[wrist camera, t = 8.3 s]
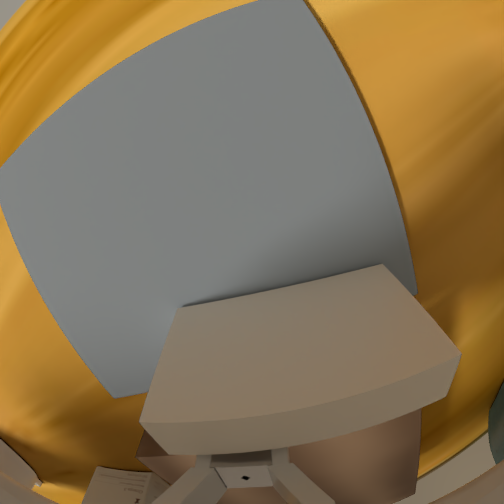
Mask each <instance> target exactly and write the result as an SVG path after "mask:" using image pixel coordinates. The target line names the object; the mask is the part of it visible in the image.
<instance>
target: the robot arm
mask: <svg viewBox="0 0 504 504" xmlns="http://www.w3.org/2000/svg"><path fill="white" fill-rule="evenodd" d="M34 485H37V486H39V487H40V486H41V485H42V482H41V481H40V480H39V479H38V478H37V475H36V474H35V472H34V471H33V470H32V469H31V468H30V467H29V466H28V465H27V464H26V463H25V462H24V461H23V460H22V459H21V458H20V457H19V456H18V455H17V454H16V453H15V452H14V451H13V450H12V449H11V448H10V447H8V446H7V445H6V444H5V443H4V442H3V441H2V440H1V439H0V504H58V503H56V502H54V501H52V500H50V499H48V498H46V497H44V496H42V495H40V494H38V493H36V492H34V491H33V490H32V488H33V487H34ZM268 486H273V487H274V488H275V489H276V491H277V492H278V493H279V494H280V495H281V496H282V498H283V499H284V500H285V501H286V502H287V503H288V504H335V501H334V500H333V499H332V498H331V497H329V496H328V495H327V494H326V493H325V492H324V491H323V490H321V489H320V488H319V487H318V486H317V485H316V484H315V483H314V482H313V481H311V480H310V479H309V478H308V477H307V476H306V475H305V474H304V473H303V472H302V471H301V470H300V469H299V468H298V467H297V466H296V465H295V464H294V463H290V458H289V450H288V447H284V448H277V449H270V450H263V451H254V452H244V453H232V454H213V455H197V456H196V462H195V467H191V468H190V469H189V470H188V471H186V472H185V473H184V474H183V475H182V476H181V477H180V478H179V479H178V480H177V481H176V482H175V483H174V484H173V485H172V486H170V487H169V488H168V489H167V490H166V491H165V492H164V493H163V494H162V495H160V496H159V497H158V498H157V499H156V500H155V501H153V502H152V503H151V504H216V503H217V502H218V501H219V500H220V498H221V497H222V496H223V494H224V493H225V492H226V491H227V488H246V487H268ZM429 504H504V460H502V461H501V462H499V463H498V464H497V465H495V466H494V467H492V468H491V469H489V470H488V471H487V472H485V473H483V474H482V475H480V476H479V477H477V478H475V479H474V480H472V481H471V482H469V483H467V484H465V485H464V486H462V487H460V488H458V489H457V490H455V491H453V492H451V493H449V494H447V495H445V496H443V497H441V498H439V499H437V500H435V501H433V502H431V503H429Z"/></svg>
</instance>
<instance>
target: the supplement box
mask: <svg viewBox="0 0 504 504" xmlns="http://www.w3.org/2000/svg"><path fill="white" fill-rule="evenodd" d="M169 487H170V485H169V484H168V483H167V482H165V481H164V480H163V479H162V478H161V477H160V476H158V475H157V474H156V473H154V472H133V471H124V470H116V469H110V468H105V467H101V466H97V467H96V470H95V472H94V474H93V477H92V479H91V481H90V484H89V486H88V489H87V491H86V493H85V496H84V499H83V501H82V504H151V503H152V502H153V501H155V500H156V499H157V498H158V497H159V496H160V495H162V494H163V493H164V492H165V491H166V490H167V489H168V488H169Z"/></svg>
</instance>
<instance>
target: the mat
mask: <svg viewBox="0 0 504 504" xmlns="http://www.w3.org/2000/svg"><path fill="white" fill-rule="evenodd" d="M0 204H1V207H2V210H3V213H4V216H5V219H6V221H7V224H8V227H9V229H10V232H11V234H12V237H13V239H14V241H15V244H16V246H17V248H18V251H19V253H20V255H21V257H22V259H23V262H24V264H25V266H26V268H27V270H28V272H29V274H30V276H31V278H32V280H33V282H34V284H35V286H36V287H37V289H38V291H39V293H40V295H41V297H42V298H43V300H44V302H45V304H46V305H47V307H48V309H49V310H50V312H51V314H52V315H53V317H54V319H55V320H56V322H57V323H58V325H59V327H60V328H61V330H62V331H63V333H64V334H65V336H66V337H67V339H68V340H69V342H70V343H71V345H72V346H73V347H74V349H75V350H76V352H77V353H78V354H79V356H80V357H81V359H82V360H83V361H84V363H85V364H86V365H87V366H88V368H89V369H90V370H91V372H92V373H93V374H94V375H95V377H96V378H97V379H98V380H99V382H100V383H101V384H102V385H103V386H104V388H105V389H106V390H107V391H108V392H109V394H110V395H111V396H112V397H113V398H120V397H126V396H131V395H136V394H141V393H146V392H148V391H149V388H150V385H151V382H152V379H153V376H154V373H155V370H156V367H157V364H158V361H159V358H160V355H161V353H162V350H163V347H164V344H165V341H166V338H167V336H168V333H169V330H170V327H171V325H172V322H173V319H174V316H175V314H176V311H177V308H182V307H187V306H193V305H198V304H204V303H209V302H214V301H220V300H225V299H230V298H235V297H240V296H245V295H250V294H255V293H259V292H264V291H269V290H274V289H278V288H283V287H287V286H292V285H296V284H301V283H305V282H310V281H314V280H318V279H322V278H327V277H331V276H335V275H339V274H343V273H347V272H351V271H356V270H360V269H363V268H367V267H371V266H375V265H379V264H383V265H384V266H385V267H386V268H387V269H388V270H389V271H390V272H391V273H392V274H393V275H394V276H395V277H396V278H397V279H398V280H399V281H400V283H401V284H402V285H403V286H404V287H405V288H406V289H407V290H408V291H409V292H410V293H411V294H412V296H414V295H416V294H417V293H418V290H417V284H416V278H415V273H414V267H413V262H412V257H411V252H410V248H409V243H408V239H407V235H406V231H405V227H404V223H403V219H402V215H401V211H400V208H399V204H398V201H397V197H396V194H395V191H394V187H393V184H392V181H391V178H390V175H389V172H388V169H387V166H386V163H385V160H384V157H383V155H382V152H381V149H380V147H379V144H378V141H377V139H376V136H375V134H374V131H373V129H372V126H371V124H370V121H369V119H368V117H367V114H366V112H365V110H364V108H363V105H362V103H361V101H360V99H359V97H358V94H357V92H356V90H355V88H354V86H353V84H352V82H351V80H350V78H349V76H348V74H347V72H346V70H345V68H344V67H343V65H342V63H341V61H340V59H339V57H338V55H337V54H336V52H335V50H334V48H333V47H332V45H331V43H330V41H329V40H328V38H327V36H326V35H325V33H324V32H323V30H322V28H321V27H320V25H319V24H318V22H317V20H316V19H315V17H314V16H313V14H312V13H311V11H310V10H309V8H308V7H307V5H306V4H305V3H304V1H303V0H258V1H255V2H251V3H248V4H245V5H241V6H238V7H235V8H232V9H229V10H227V11H224V12H221V13H218V14H216V15H213V16H211V17H208V18H206V19H203V20H201V21H198V22H196V23H194V24H191V25H189V26H187V27H185V28H182V29H180V30H178V31H176V32H174V33H172V34H170V35H168V36H166V37H164V38H162V39H160V40H158V41H156V42H154V43H153V44H151V45H149V46H147V47H145V48H144V49H142V50H140V51H138V52H137V53H135V54H133V55H132V56H130V57H128V58H127V59H125V60H123V61H122V62H120V63H119V64H117V65H116V66H114V67H113V68H111V69H110V70H108V71H107V72H105V73H104V74H102V75H101V76H99V77H98V78H97V79H95V80H94V81H93V82H91V83H90V84H88V85H87V86H86V87H84V88H83V89H82V90H81V91H79V92H78V93H77V94H76V95H74V96H73V97H72V98H71V99H69V100H68V101H67V102H66V103H65V104H63V105H62V106H61V107H60V108H59V109H58V110H56V111H55V112H54V113H53V114H52V115H51V116H50V117H49V118H48V119H46V120H45V121H44V122H43V123H42V124H41V125H40V126H39V127H38V128H37V129H36V130H35V131H34V132H33V133H32V134H31V135H30V136H29V137H28V138H27V139H26V140H25V141H24V142H23V143H22V144H21V145H20V146H19V147H18V149H17V150H16V151H15V152H14V153H13V154H12V155H11V156H10V158H9V159H8V160H7V161H6V162H5V163H4V165H3V166H2V167H1V168H0Z"/></svg>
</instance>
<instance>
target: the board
mask: <svg viewBox="0 0 504 504" xmlns="http://www.w3.org/2000/svg"><path fill="white" fill-rule="evenodd" d="M420 440H421V408H420V409H417V410H415V411H413V412H410V413H408V414H405V415H403V416H400V417H397V418H395V419H392V420H389V421H386V422H384V423H381V424H378V425H375V426H372V427H368V428H365V429H362V430H359V431H355V432H352V433H348V434H345V435H341V436H337V437H333V438H329V439H325V440H320V441H316V442H311V443H306V444H301V445H296V446H290V447H288V450H289V458H290V463H294V464H295V465H296V466H297V467H298V468H299V469H300V470H301V471H302V472H303V473H304V474H305V475H306V476H307V477H308V478H309V479H310V480H311V481H313V482H314V483H315V484H316V485H317V486H318V487H319V488H320V489H321V490H323V491H324V492H325V493H326V494H327V495H328V496H329V497H331V498H332V499H333V500H334V501H335V504H393V503H395V502H398V501H400V500H402V499H404V498H407V497H409V496H411V495H413V494H415V490H416V483H417V475H418V466H419V455H420ZM196 456H197V455H169V454H168V453H167V452H166V451H165V450H164V449H163V448H162V447H161V446H160V445H159V444H158V443H157V442H156V441H155V440H154V439H153V438H152V437H151V435H150V434H149V433H148V432H147V431H146V430H144V433H143V436H142V439H141V442H140V445H139V447H138V450H137V453H136V456H135V458H137V459H138V460H139V461H140V462H142V463H143V464H144V465H145V466H147V467H148V468H149V469H151V470H152V471H153V472H154V473H156V474H157V475H159V476H160V477H161V478H163V479H164V480H165V481H167V482H168V483H170V484H171V485H173V484H174V483H175V482H176V481H177V480H178V479H179V478H180V477H181V476H182V475H183V474H184V473H185V472H186V471H188V470H189V469H190V468H191V467H195V462H196ZM216 504H288V503H287V502H286V501H285V500H284V499H283V498H282V496H281V495H280V494H279V493H278V492H277V491H276V489H275V488H274V487H273V486H268V487H246V488H227V491H226V492H225V493H224V494H223V496H222V497H221V498H220V500H219V501H218V502H217V503H216Z"/></svg>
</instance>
